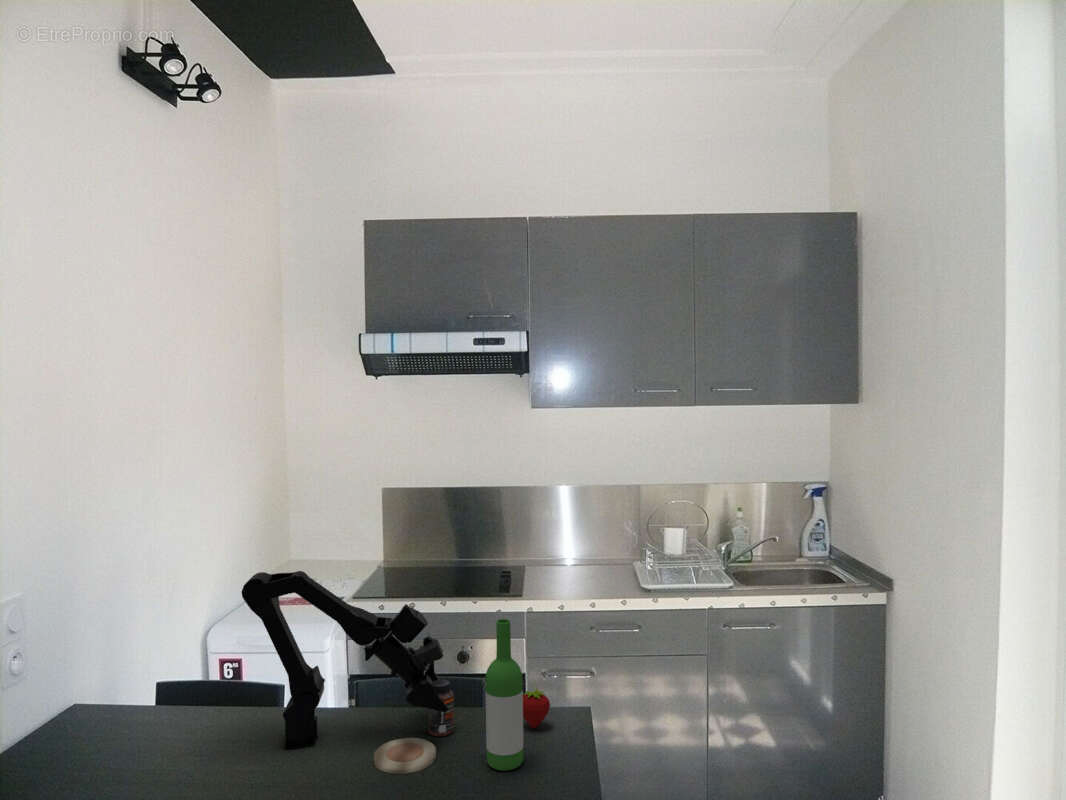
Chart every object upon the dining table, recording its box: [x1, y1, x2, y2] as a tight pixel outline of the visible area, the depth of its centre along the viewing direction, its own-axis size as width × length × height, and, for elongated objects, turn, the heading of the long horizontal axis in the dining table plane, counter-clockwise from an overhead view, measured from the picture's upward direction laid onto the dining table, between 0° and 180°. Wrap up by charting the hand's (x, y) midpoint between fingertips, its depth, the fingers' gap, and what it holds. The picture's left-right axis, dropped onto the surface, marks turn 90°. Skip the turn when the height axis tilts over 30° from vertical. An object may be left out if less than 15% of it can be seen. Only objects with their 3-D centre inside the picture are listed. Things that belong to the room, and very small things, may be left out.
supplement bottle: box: [427, 679, 455, 737], centre depth 169 cm, size 6×6×11 cm
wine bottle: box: [485, 618, 524, 772], centre depth 154 cm, size 8×8×30 cm
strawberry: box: [523, 683, 551, 729], centre depth 170 cm, size 6×8×10 cm
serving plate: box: [373, 737, 437, 775], centre depth 157 cm, size 13×13×1 cm
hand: (446, 701), depth 169 cm, fingers open, 9 cm apart
